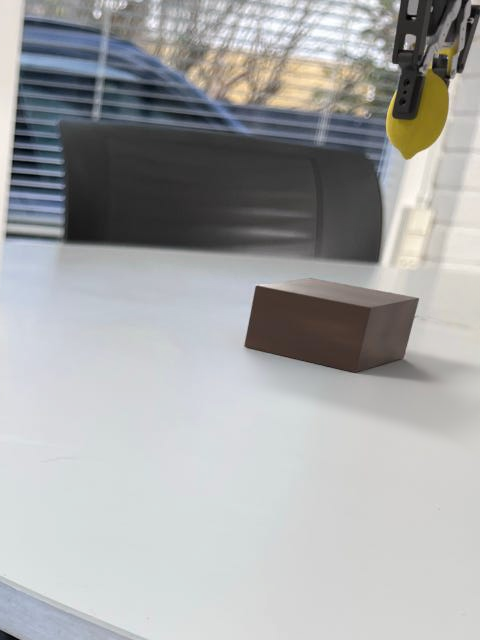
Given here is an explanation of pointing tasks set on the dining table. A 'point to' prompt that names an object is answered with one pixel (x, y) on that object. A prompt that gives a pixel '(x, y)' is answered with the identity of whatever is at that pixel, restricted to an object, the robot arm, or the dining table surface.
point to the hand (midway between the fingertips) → (416, 119)
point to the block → (330, 323)
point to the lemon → (420, 119)
